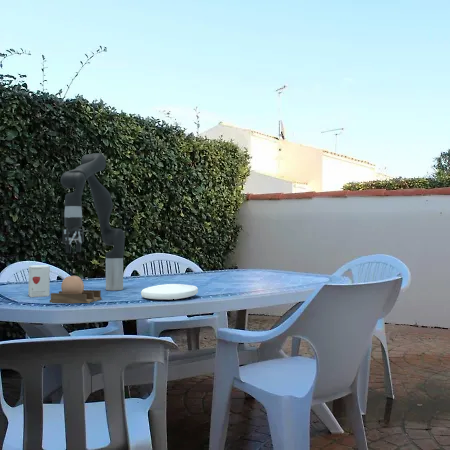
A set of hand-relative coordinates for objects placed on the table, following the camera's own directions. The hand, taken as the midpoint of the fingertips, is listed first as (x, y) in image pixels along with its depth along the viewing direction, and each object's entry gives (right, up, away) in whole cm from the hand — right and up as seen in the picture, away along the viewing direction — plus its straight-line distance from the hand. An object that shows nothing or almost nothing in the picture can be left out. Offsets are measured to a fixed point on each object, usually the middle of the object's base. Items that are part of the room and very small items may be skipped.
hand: (73, 252), depth 218 cm
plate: (+42, -23, +13) cm, 50 cm away
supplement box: (-24, -23, +21) cm, 39 cm away
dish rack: (+1, -22, +2) cm, 22 cm away
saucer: (0, -21, -1) cm, 21 cm away
